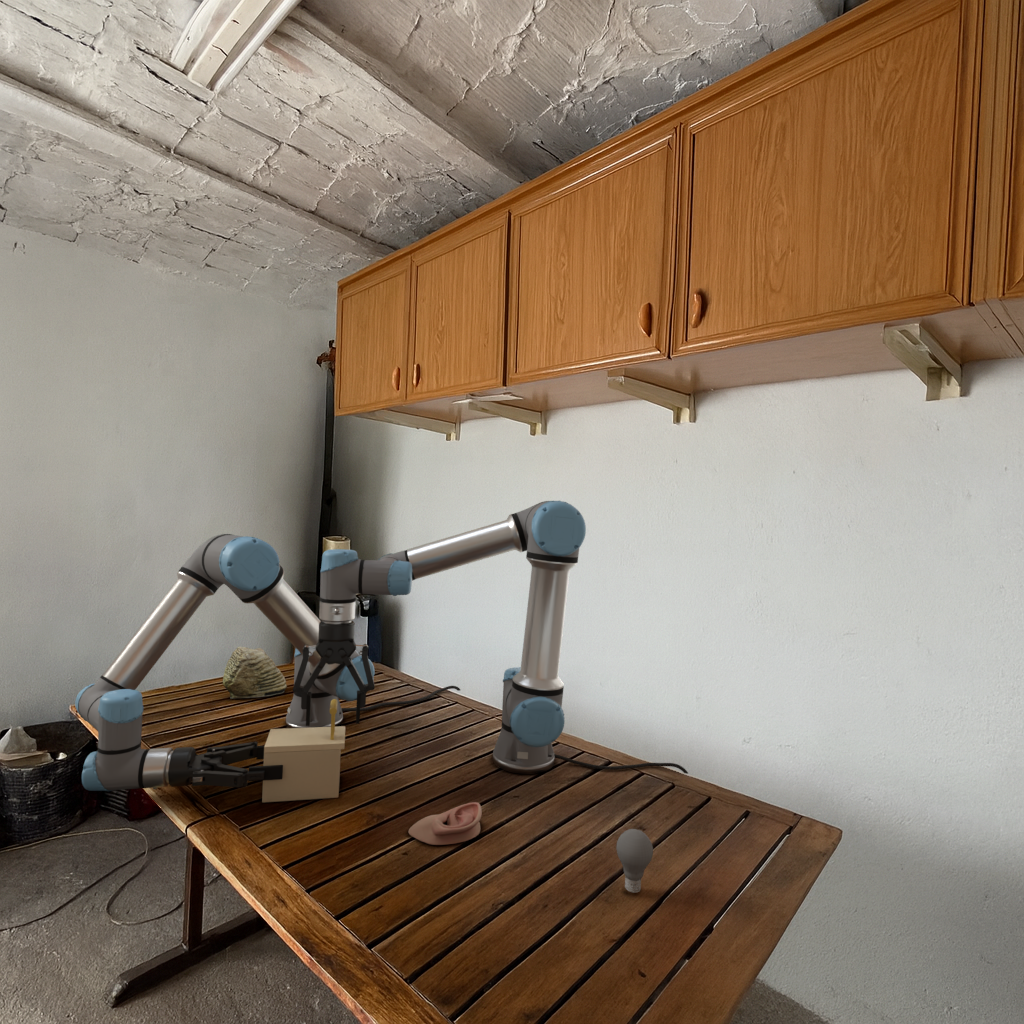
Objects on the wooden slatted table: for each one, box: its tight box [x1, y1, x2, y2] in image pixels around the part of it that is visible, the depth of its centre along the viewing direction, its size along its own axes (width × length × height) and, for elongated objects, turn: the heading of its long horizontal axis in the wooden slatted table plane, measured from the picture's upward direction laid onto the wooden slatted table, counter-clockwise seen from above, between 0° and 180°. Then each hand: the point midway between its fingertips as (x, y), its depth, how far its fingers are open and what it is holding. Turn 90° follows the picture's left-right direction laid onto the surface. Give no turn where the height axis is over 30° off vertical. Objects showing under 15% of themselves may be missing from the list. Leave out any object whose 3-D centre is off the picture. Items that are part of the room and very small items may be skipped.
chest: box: [261, 749, 342, 803], centre depth 137 cm, size 15×10×10 cm
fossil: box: [222, 646, 288, 699], centre depth 198 cm, size 9×18×15 cm, turn 132°
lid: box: [263, 699, 346, 753], centre depth 137 cm, size 16×10×8 cm, turn 104°
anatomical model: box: [407, 801, 483, 846], centre depth 122 cm, size 13×4×12 cm
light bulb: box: [615, 828, 654, 894], centre depth 106 cm, size 6×6×10 cm
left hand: (285, 761), depth 136 cm, fingers closed on chest, 10 cm apart
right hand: (333, 722), depth 138 cm, fingers open, 10 cm apart
